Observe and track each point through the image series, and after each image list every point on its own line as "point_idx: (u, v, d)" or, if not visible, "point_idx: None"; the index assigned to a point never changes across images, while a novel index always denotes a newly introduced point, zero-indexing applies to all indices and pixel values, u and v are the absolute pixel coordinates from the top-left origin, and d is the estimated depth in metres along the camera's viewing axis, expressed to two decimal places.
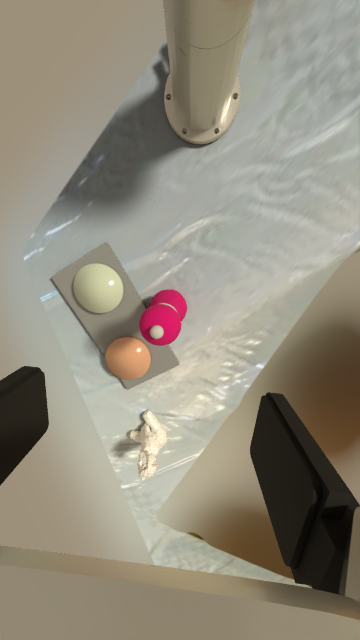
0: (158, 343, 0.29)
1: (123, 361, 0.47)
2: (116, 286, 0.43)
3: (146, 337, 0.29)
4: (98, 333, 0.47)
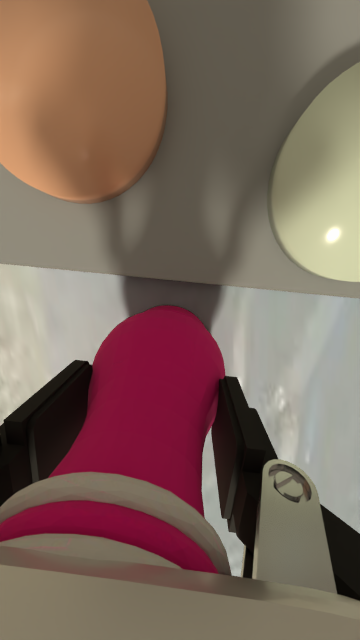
0: None
1: (58, 49, 0.10)
2: (331, 254, 0.11)
3: None
4: (232, 35, 0.10)
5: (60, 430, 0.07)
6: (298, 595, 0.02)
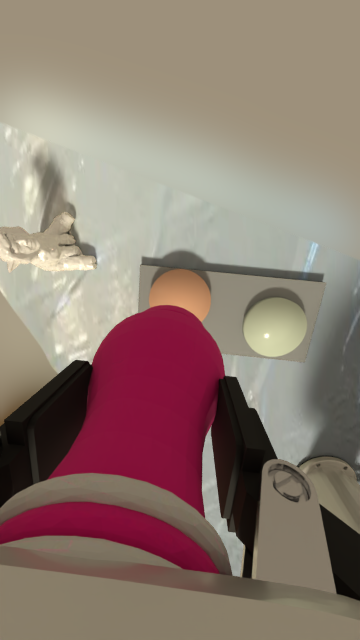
0: None
1: (180, 294, 0.34)
2: (262, 348, 0.36)
3: None
4: (230, 285, 0.35)
5: (60, 430, 0.07)
6: (298, 595, 0.02)
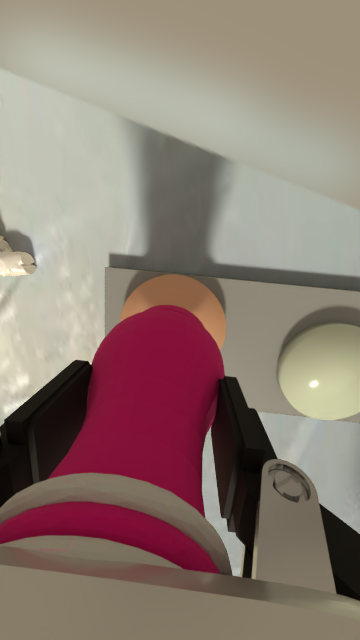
0: None
1: None
2: (311, 407, 0.21)
3: None
4: (258, 301, 0.20)
5: (61, 430, 0.07)
6: (298, 595, 0.02)
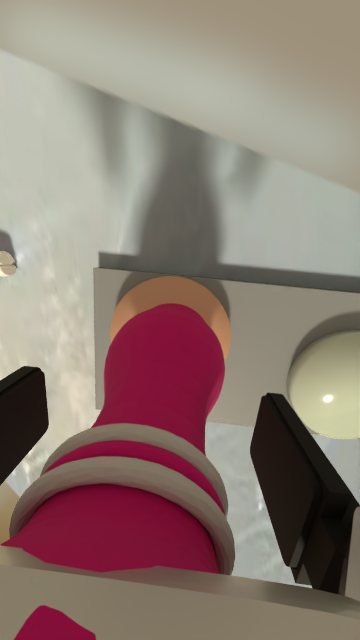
0: None
1: None
2: (326, 425, 0.19)
3: None
4: (267, 307, 0.18)
5: None
6: (298, 595, 0.02)
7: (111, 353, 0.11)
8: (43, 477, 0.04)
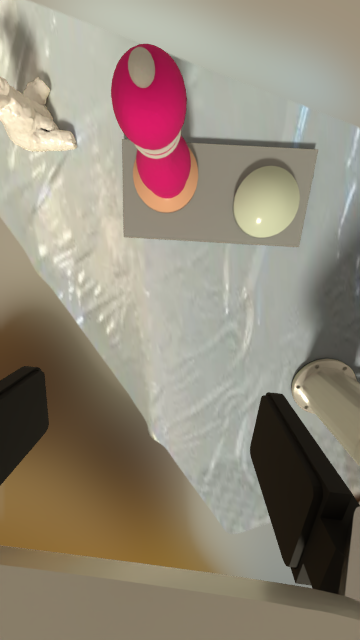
0: (120, 64, 0.15)
1: None
2: (254, 227, 0.34)
3: (142, 46, 0.15)
4: (218, 158, 0.33)
5: None
6: (298, 595, 0.02)
7: None
8: None
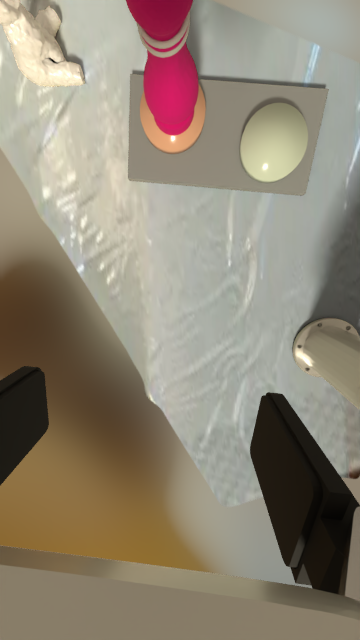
0: None
1: None
2: (260, 169, 0.34)
3: None
4: (226, 96, 0.33)
5: None
6: (298, 595, 0.02)
7: None
8: None
